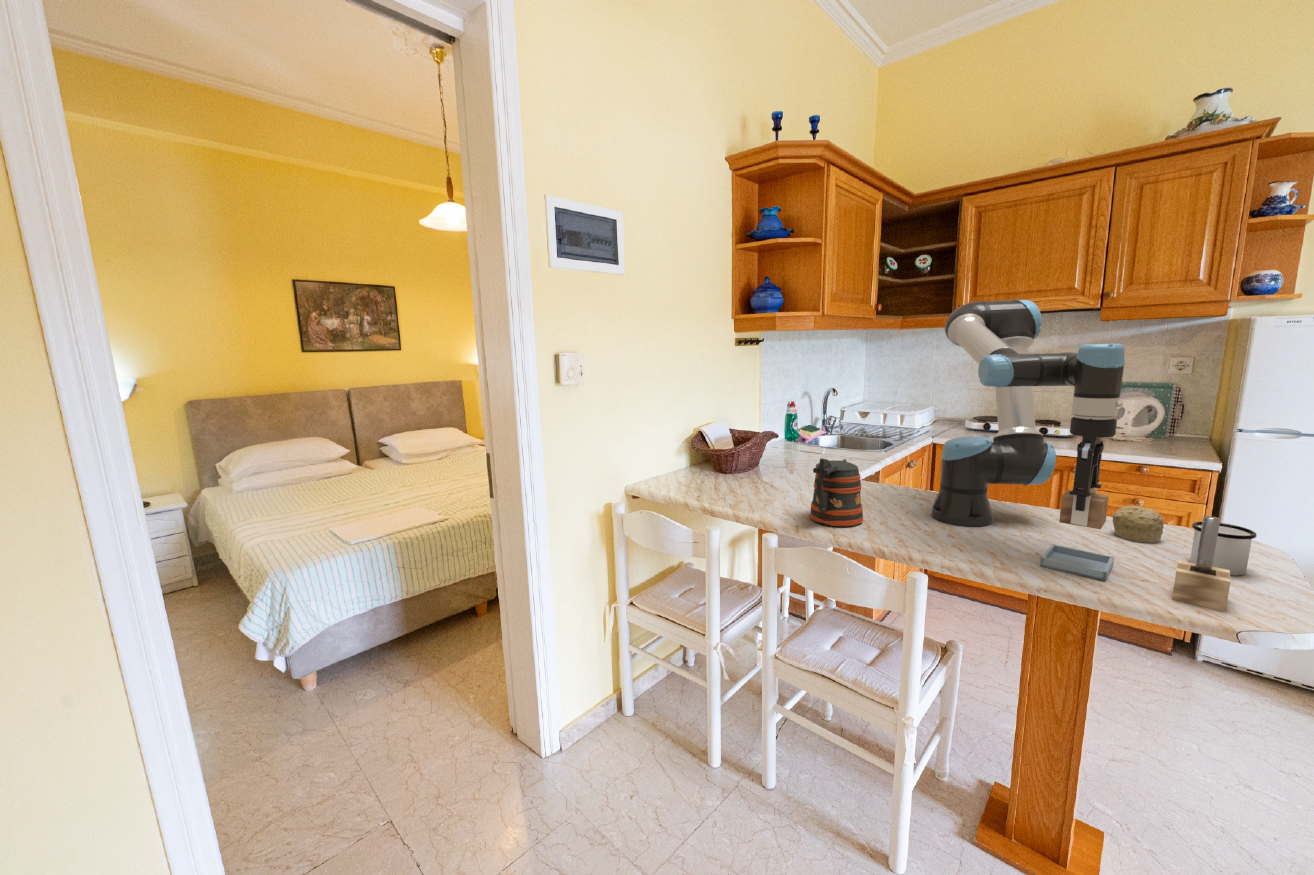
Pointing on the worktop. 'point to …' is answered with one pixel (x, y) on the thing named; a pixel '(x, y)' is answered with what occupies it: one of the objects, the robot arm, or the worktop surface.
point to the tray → (1077, 562)
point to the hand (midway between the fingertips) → (1082, 520)
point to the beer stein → (836, 494)
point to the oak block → (1201, 586)
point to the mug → (1227, 547)
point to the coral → (1138, 524)
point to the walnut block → (1095, 509)
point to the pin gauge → (1207, 544)
